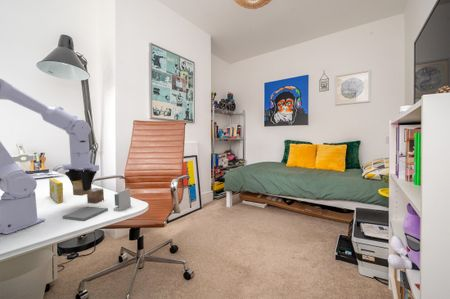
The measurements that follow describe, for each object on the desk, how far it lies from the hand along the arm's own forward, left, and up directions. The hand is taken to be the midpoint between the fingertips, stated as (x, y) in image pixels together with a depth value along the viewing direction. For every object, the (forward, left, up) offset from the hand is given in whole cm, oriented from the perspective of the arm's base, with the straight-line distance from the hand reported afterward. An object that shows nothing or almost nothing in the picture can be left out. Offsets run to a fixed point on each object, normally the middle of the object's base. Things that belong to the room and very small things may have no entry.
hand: (82, 189), depth 74 cm
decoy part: (+7, +2, -7) cm, 10 cm away
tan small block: (0, 0, -2) cm, 2 cm away
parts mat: (-5, -7, -7) cm, 11 cm away
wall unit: (+3, -15, -7) cm, 17 cm away
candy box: (+6, +22, -7) cm, 24 cm away
